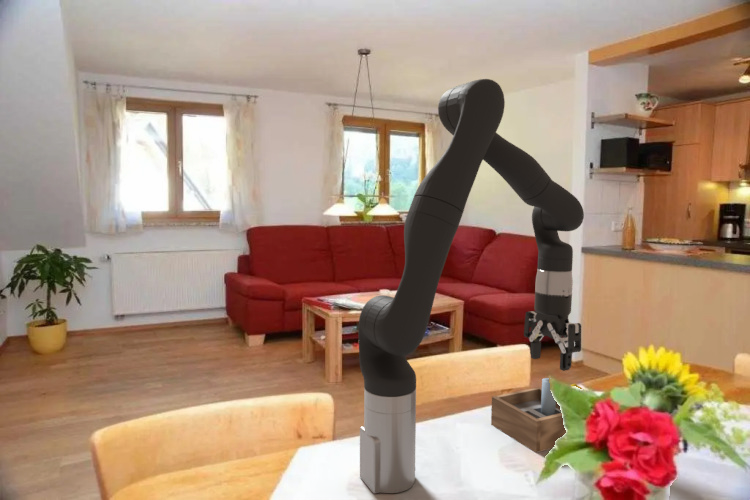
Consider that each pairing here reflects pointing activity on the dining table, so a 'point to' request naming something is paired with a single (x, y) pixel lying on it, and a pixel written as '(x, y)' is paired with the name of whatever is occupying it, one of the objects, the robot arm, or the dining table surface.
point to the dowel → (547, 399)
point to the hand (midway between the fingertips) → (549, 363)
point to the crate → (527, 419)
